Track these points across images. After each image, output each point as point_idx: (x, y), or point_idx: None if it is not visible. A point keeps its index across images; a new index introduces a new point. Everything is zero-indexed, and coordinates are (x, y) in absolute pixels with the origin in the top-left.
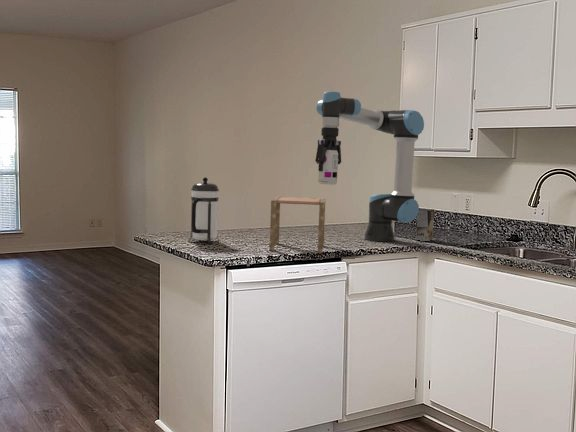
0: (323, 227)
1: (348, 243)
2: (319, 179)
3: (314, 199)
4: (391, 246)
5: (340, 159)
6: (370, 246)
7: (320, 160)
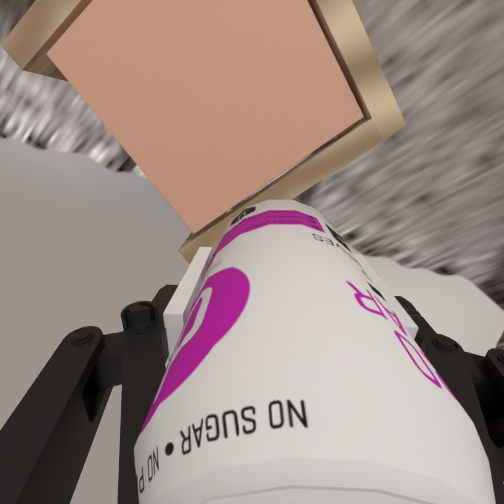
0: (340, 134)
1: (438, 150)
2: (220, 239)
3: (292, 131)
4: (457, 258)
5: (497, 435)
6: (419, 224)
7: (90, 392)
